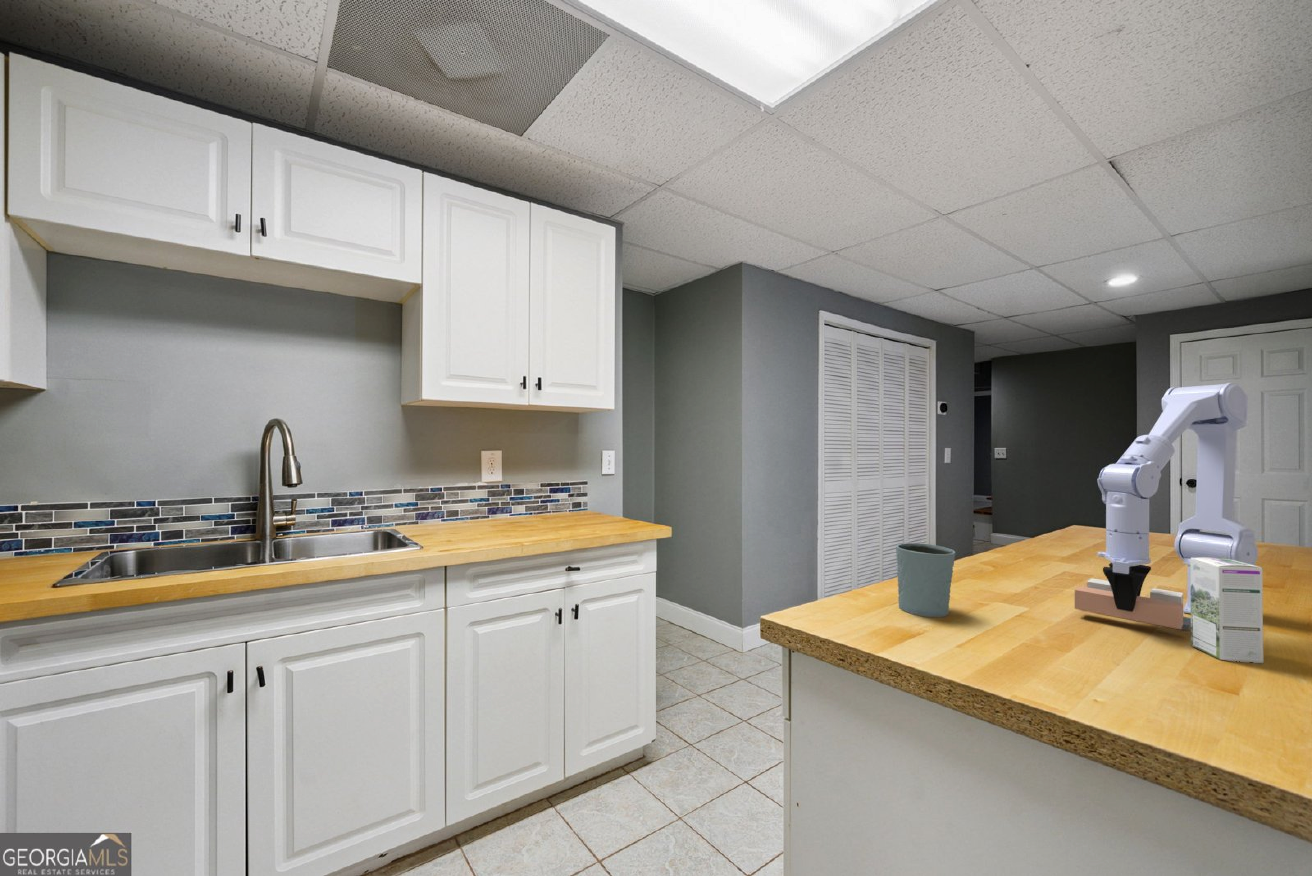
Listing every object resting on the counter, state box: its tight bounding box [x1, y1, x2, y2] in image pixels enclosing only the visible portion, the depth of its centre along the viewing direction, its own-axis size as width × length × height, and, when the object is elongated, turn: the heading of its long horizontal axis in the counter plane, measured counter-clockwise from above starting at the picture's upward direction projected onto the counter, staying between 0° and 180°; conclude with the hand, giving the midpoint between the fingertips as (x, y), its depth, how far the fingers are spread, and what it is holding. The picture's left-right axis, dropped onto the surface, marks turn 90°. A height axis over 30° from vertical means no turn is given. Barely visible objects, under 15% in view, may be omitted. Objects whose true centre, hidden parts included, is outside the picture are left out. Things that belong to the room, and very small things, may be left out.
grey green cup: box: [895, 542, 956, 618], centre depth 101 cm, size 10×10×12 cm
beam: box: [1074, 585, 1184, 631], centre depth 93 cm, size 4×14×4 cm, turn 41°
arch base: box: [1086, 577, 1191, 632], centre depth 98 cm, size 6×15×6 cm, turn 41°
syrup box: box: [1190, 557, 1264, 664], centre depth 81 cm, size 6×6×14 cm
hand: (1126, 607), depth 93 cm, fingers closed on beam, 4 cm apart
